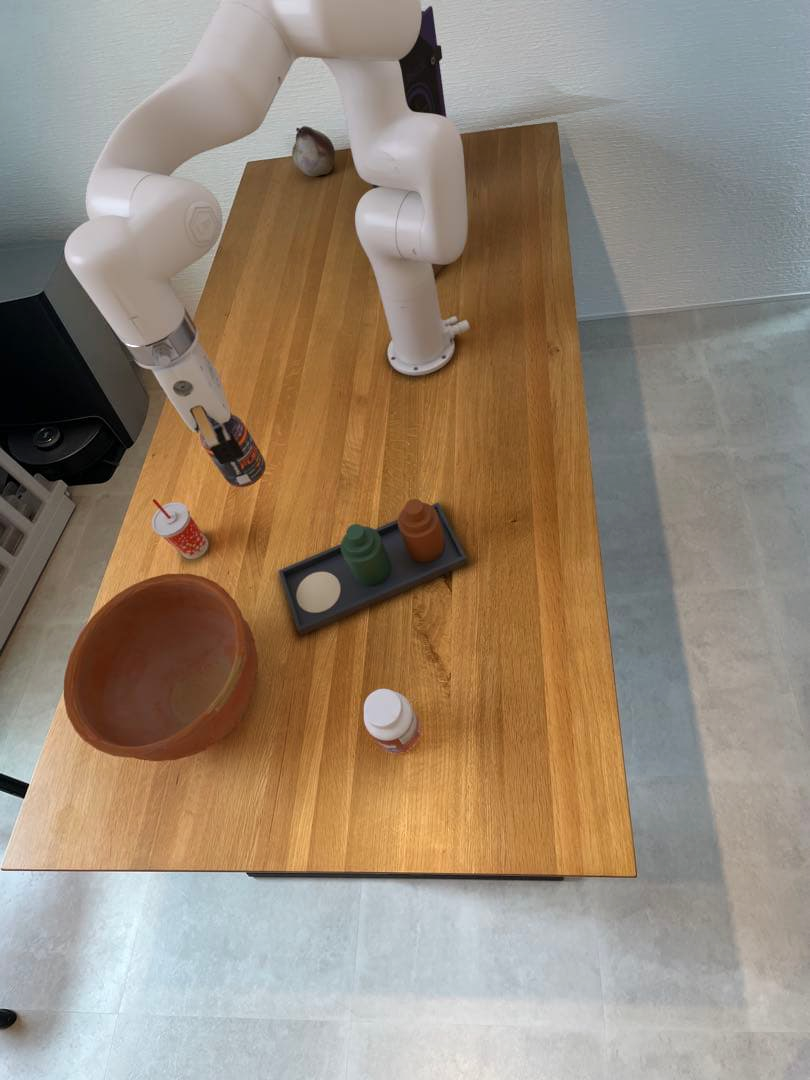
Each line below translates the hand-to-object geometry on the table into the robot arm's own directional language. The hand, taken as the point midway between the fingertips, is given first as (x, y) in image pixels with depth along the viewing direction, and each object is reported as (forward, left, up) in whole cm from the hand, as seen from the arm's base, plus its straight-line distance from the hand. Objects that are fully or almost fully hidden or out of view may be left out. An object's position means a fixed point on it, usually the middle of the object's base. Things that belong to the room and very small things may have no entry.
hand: (226, 439), depth 88 cm
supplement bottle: (0, 0, -7) cm, 7 cm away
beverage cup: (+16, -7, -27) cm, 32 cm away
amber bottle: (-19, +11, -26) cm, 34 cm away
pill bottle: (-5, +36, -27) cm, 45 cm away
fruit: (-35, -100, -27) cm, 110 cm away
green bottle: (-10, +11, -26) cm, 30 cm away
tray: (-10, +11, -27) cm, 31 cm away
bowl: (+20, +19, -27) cm, 38 cm away
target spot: (-1, +11, -26) cm, 28 cm away
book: (-53, -80, -27) cm, 100 cm away
